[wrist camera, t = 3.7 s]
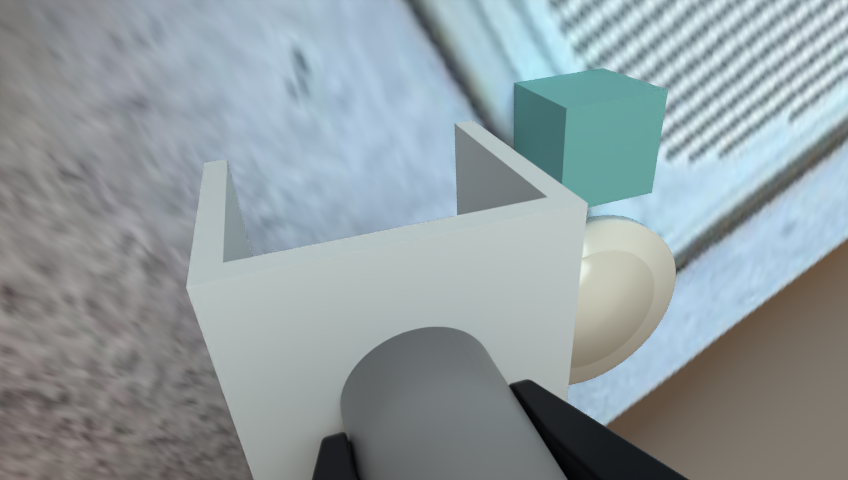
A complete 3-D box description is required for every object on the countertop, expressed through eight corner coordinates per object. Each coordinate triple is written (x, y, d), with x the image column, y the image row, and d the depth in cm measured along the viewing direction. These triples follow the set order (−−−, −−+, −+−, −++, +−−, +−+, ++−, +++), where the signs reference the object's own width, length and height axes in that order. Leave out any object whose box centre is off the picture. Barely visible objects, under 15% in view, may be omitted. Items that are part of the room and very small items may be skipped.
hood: (475, 321, 17) (688, 652, 9) (265, 374, 15) (297, 832, 7) (472, 120, 14) (809, 361, 6) (204, 162, 12) (143, 579, 4)
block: (593, 158, 24) (651, 192, 20) (512, 174, 23) (560, 214, 20) (601, 67, 22) (667, 89, 18) (513, 82, 21) (566, 108, 18)
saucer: (648, 347, 31) (661, 359, 30) (494, 393, 29) (503, 408, 28) (677, 196, 26) (693, 206, 25) (493, 239, 24) (503, 252, 23)
